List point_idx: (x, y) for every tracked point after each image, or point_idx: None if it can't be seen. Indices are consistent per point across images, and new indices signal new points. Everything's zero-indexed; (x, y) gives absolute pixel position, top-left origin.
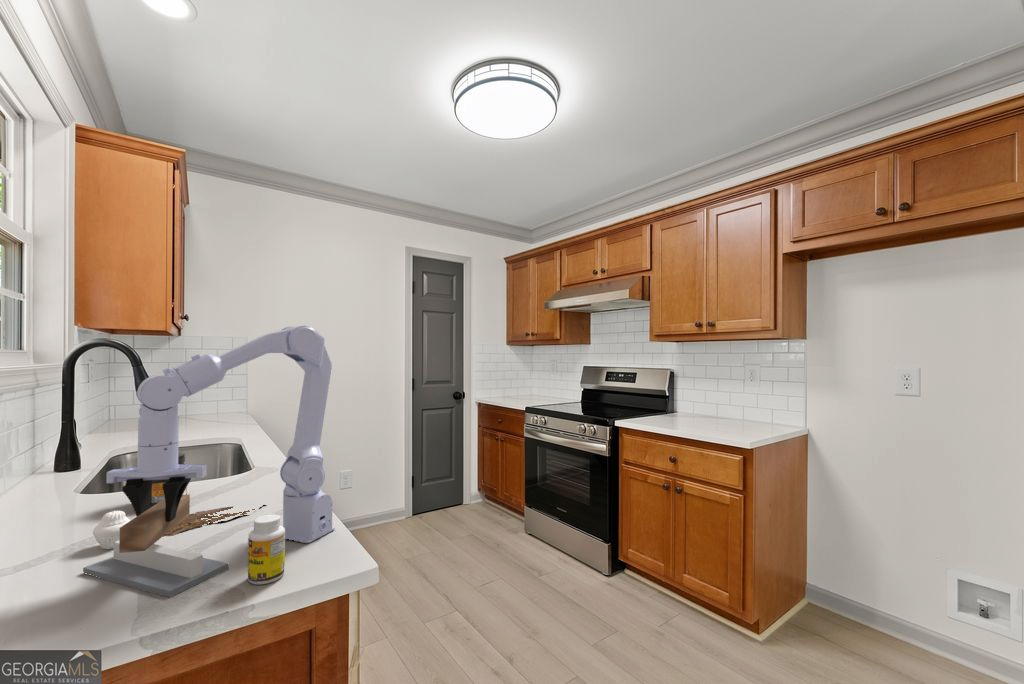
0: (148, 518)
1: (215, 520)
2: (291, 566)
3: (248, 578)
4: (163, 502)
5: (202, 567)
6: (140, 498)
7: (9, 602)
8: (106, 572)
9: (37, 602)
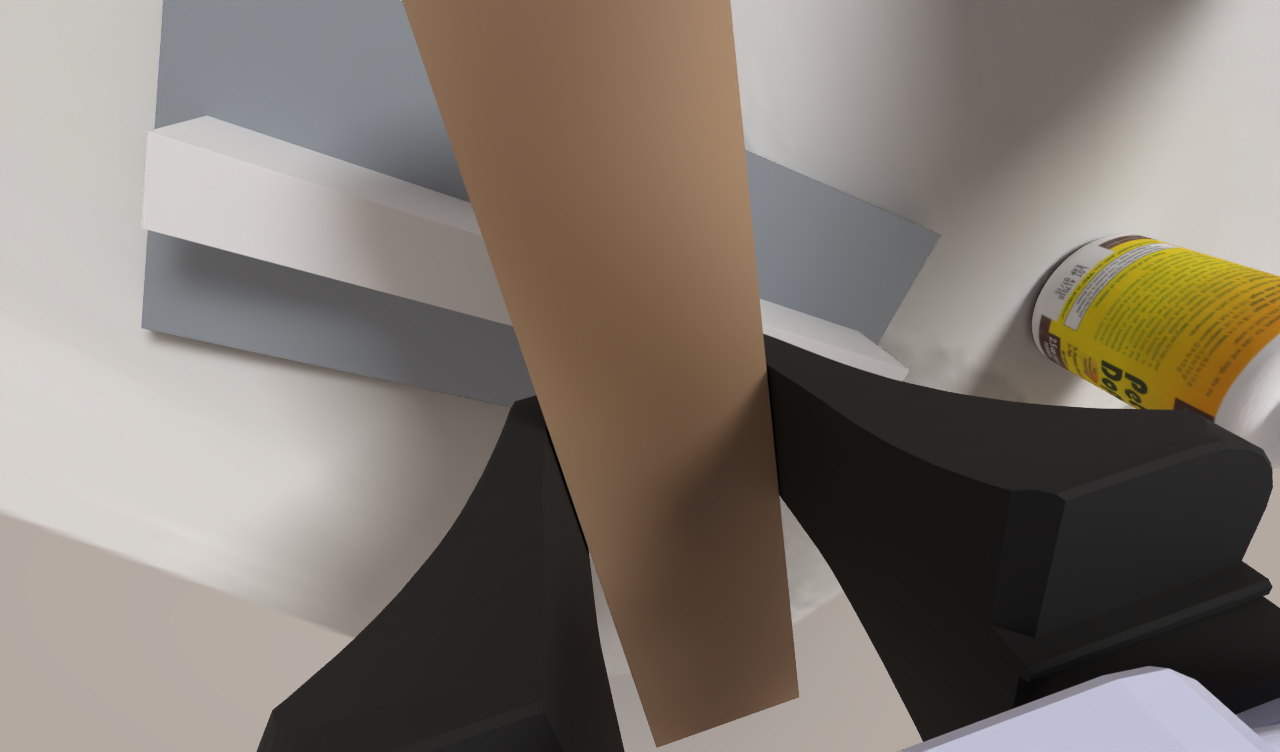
0: (733, 616)
1: None
2: (1175, 189)
3: (1043, 351)
4: (559, 249)
5: (872, 342)
6: (609, 703)
7: (152, 563)
8: (370, 367)
9: (288, 545)
